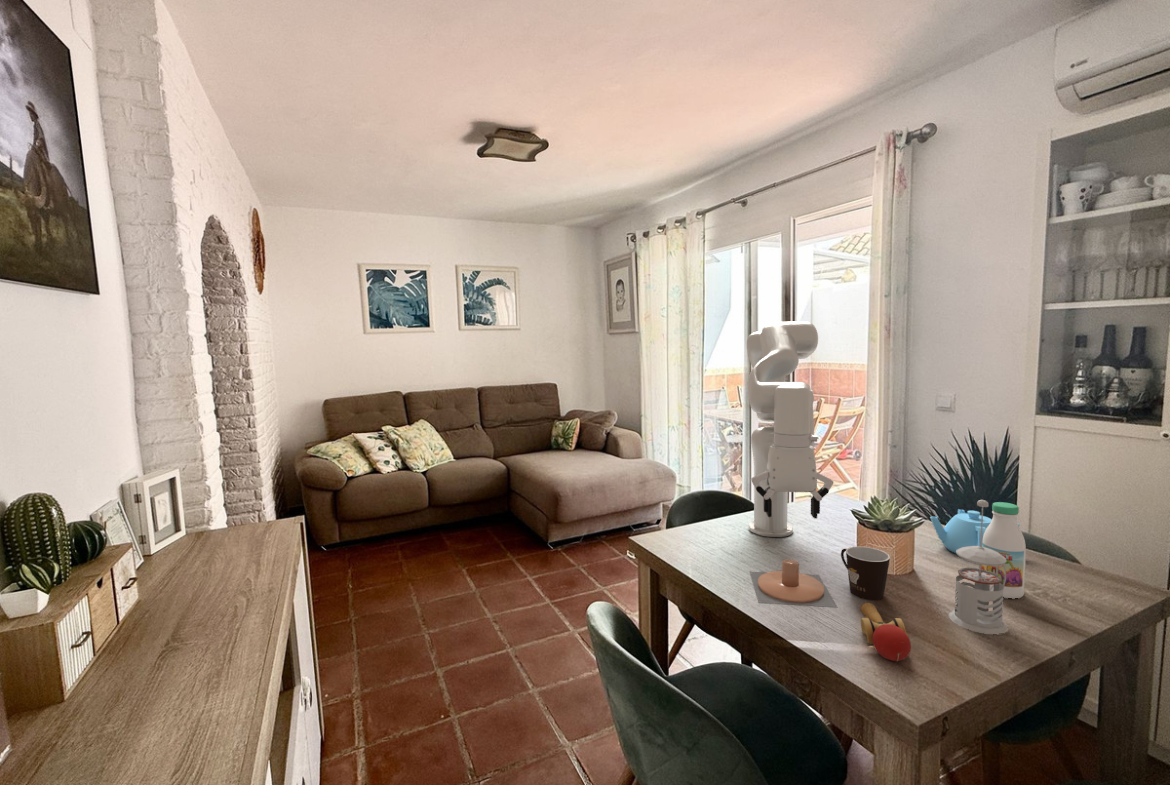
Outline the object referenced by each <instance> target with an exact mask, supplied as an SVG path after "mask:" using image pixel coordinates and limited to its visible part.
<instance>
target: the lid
mask: <svg viewBox="0 0 1170 785" xmlns="http://www.w3.org/2000/svg"><path fill="white" fill-rule="evenodd" d="M766 572H767V571H766ZM805 574H806V573H801V572H800V562H799V561H797V560H795V559H791V558H789V559H787V558H785V559H783V560H781V570H774V571H773V570H772V571H768V572H767V573H765V574H762V575H761V576H760V577H759V579H758V586H759V588H760V590H761V591H762V592H764V593H765V594H767V595H768V596H771V597H773V598H776V599H779V600H782V601H787V602H795V603H806V602H813V601H816V600H819V599H820V598H822V597H823V595H824V586H823V585H822V583H821V582H819V581H818V580H817V579H815V578H813V577H811V576H808V575H805Z"/></svg>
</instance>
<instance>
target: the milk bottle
mask: <svg viewBox="0 0 1170 785" xmlns="http://www.w3.org/2000/svg"><path fill="white" fill-rule="evenodd" d="M991 509H992V511H991V513H992V518H991V519H992V521H991V523H990V524H989V526H988V527H987V529H986V530H985V533H984V535H983V541H982V547H985V548H989V549H992V550H994V551H996V552H998V553H999V554H1001V555H1002V556H1003V557H1005V558H1006V563H1005V564H1004V565H1005V568H1006V582H1005V585H1004V593H1003V596H1004V598H1003V599H1008V598H1012V599H1011V600H1016V599H1015V598H1018V599H1021V598H1022V597H1023V596H1024V593H1025V577H1026V576H1025V575H1026V557H1027V555H1026V554H1027V553H1026V552H1027V551H1026V549H1027V548H1026V547H1027V546H1026V541H1025V537H1024V534H1023V532H1022V531H1021V529H1020V526H1018V523H1019V522H1018V517H1019V513H1020V512H1019V511H1020V508H1019V506H1018V505H1016V504H1013V503H1009V502H1002V501H998V502H992V504H991ZM997 568H998V575H999V576H1000V577H1001V578H1002V582H1001V584H1002V585H1003V583H1004V578H1005V569H1004V566H1003V565H999V566H997ZM982 569H983V570H987V571H989V572H990V571H991V572H992V573H994V574H996V567H994V566H988V565H981V570H982ZM992 586H993V585H990V588H991V587H992ZM991 591H994V587H993V588H992V589H991Z"/></svg>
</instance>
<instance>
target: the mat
mask: <svg viewBox="0 0 1170 785" xmlns="http://www.w3.org/2000/svg"><path fill="white" fill-rule="evenodd" d="M765 573H767V571H751V570H750V571H749V574H750V578H751V582H752V584H753V588H754V591H755V595H756V599H757V601H758V603H759V604H769V605H771V604H773V605H774V604H775V605H788V606H789V605H790V606H805V607H820V608H821V607H824V608H838V607H839V606H838V605H837V603H836V602H835V600H834V598H833V596H832V595H831V593H830V592H829V590H828V588H827V586H826V584H825V583H824V581H823V580H822V578H821V576H820V575H819V574H812V573H811V574H809V573H808V574H806V573H804V574H805V575H808V576H811V577H813V578H815V579H817V580H818V581H819V582H821V583H822V585H823V586H824V595H823V597H822V598H820V599H819V600H816V601H813V602H806V603H795V602H787V601H782V600H779V599H776V598H773V597H771V596H768V595H767V594H765V593H764V592H762V591H761V590H760V588H759V586H758V579H759V577H760V576H761V575H762V574H765Z"/></svg>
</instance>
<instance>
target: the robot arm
mask: <svg viewBox="0 0 1170 785" xmlns="http://www.w3.org/2000/svg"><path fill="white" fill-rule="evenodd" d="M818 344H819V334H818V331H817V328H816V326H815V325H814V324H813V323H812V322H809V321H806V320H805V321H802V320H801V321H775V322H773V323H768V324H767V325H765V326H764V327H763V328H762V330H760V331H755V332H752V333H750V334H749V335H748V336H747V339H746V351H747V356H748V360H749V362H750V364H751V367H752V369H751V371H750V373H749V376H748V379H747V391H748V392H747V393H748V401H749V406H750V409H751V410H752V411H753V412H755V413H756V416H757V418H758V419H759V420H760V421H762V422H768V423H773V426H771V425H770V426H768V425H767V426H760V427H758V428H755V429H754V430H753V431H752V433H751V437H750V438H751V439H750V442H751V452H752V458H753V473H754V474H753V477H751V478H750V481H751V483H752V484H753V498H754V499H753V501H754V502H753V508H754V509H753V521H751V522H749V523H748V530H749V531H750V532H752V533H753V534H755V535H759V536H761V537H762V536H763V537H769V538H782V537H787V536H790V535H792V534H793V533H794V531H793V530H794V529H793V526H792V525H790V524H789V523H788V503H789V502H788V499H789V498H788V493H810V494H811V495H812V496H811V498H810V515H811V516H812V518H813V519H814V520H815V519H816V520H817V519H818V515H819V514H821V501H822V500H823V498H824V497H826V495H827V494H829V491H830V490H831V489H832V487H833V485H834V480H832V479H831V478H829V477H828V476H825V475H823V474H821V473H819V472H817V464H816V461H817V460H816V455H815V451H814V450H815V442H818V436H817V435H815V427H814V426H815V425H814V424H815V422H814V420H815V418H814V416H815V414H814V391H813V389H812V388H811V387H810V385H809V384H808V383H806V382H802V381H786V376H789V375H791V374H792V373H793V372H794V371H796V369H797V368H798V365H799V360H802V359H807V358H808V357H810V356H811V355H812V354H813V353H815V351H816V350H817V347H818ZM818 481H820V482H822V483H823V486H822V487H820V488H819V489H818V488H817V487H818V486H817V485H818ZM817 489H818V490H817Z"/></svg>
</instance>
